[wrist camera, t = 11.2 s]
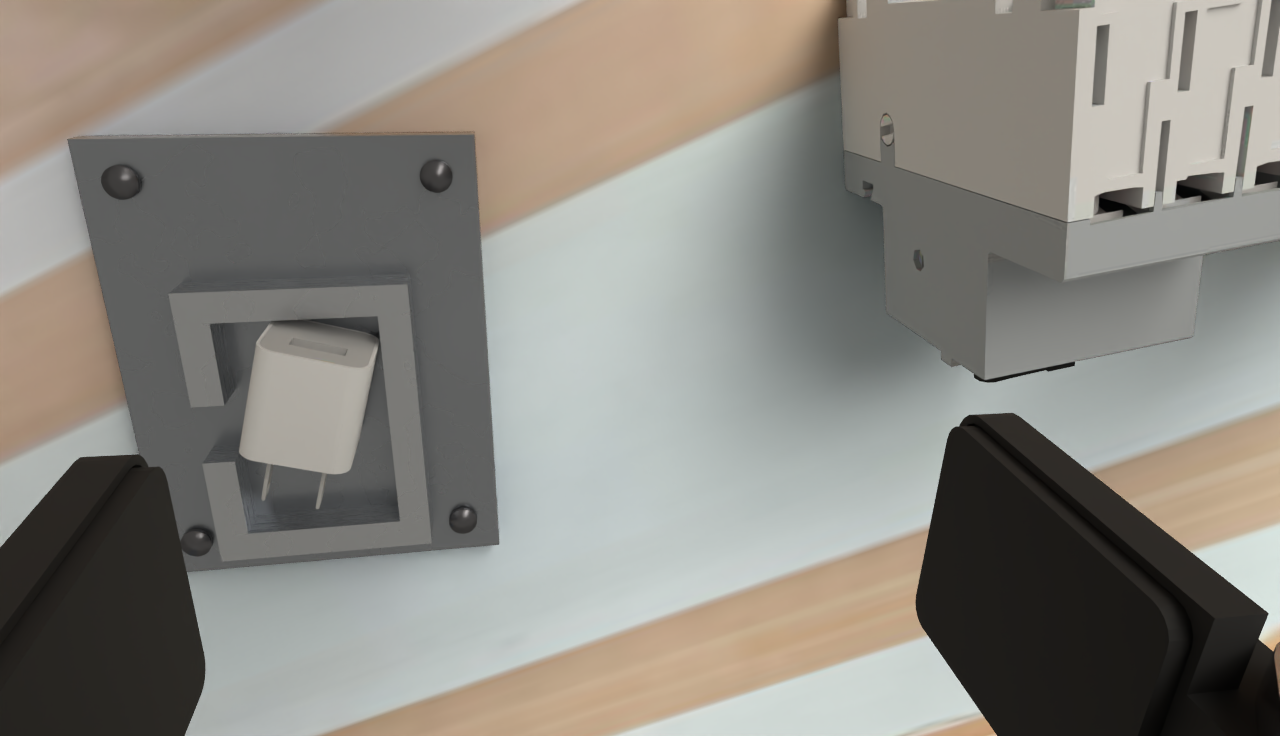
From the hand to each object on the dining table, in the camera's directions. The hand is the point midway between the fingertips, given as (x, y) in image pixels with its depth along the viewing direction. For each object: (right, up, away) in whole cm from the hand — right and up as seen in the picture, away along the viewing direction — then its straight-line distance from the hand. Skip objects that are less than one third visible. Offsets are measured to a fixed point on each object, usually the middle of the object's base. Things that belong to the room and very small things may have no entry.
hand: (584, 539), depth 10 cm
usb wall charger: (-13, +1, +25) cm, 28 cm away
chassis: (-13, +2, +25) cm, 28 cm away
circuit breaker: (+13, +11, +27) cm, 32 cm away
